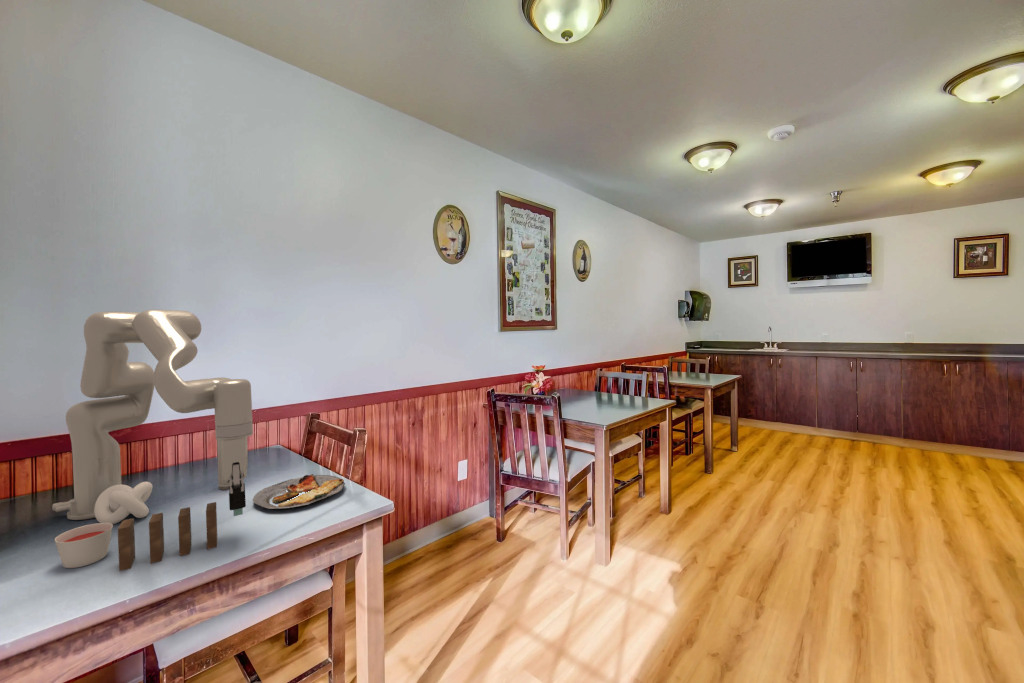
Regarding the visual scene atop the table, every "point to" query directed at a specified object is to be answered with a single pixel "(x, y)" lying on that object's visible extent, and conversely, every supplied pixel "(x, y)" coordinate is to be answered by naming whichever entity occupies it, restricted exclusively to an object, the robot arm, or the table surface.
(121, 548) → the domino
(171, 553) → the table surface
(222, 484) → the travel mug
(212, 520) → the domino
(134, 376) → the robot arm
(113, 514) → the white knot
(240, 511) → the domino
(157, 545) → the domino
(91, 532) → the candle
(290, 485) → the food plate
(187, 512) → the domino
